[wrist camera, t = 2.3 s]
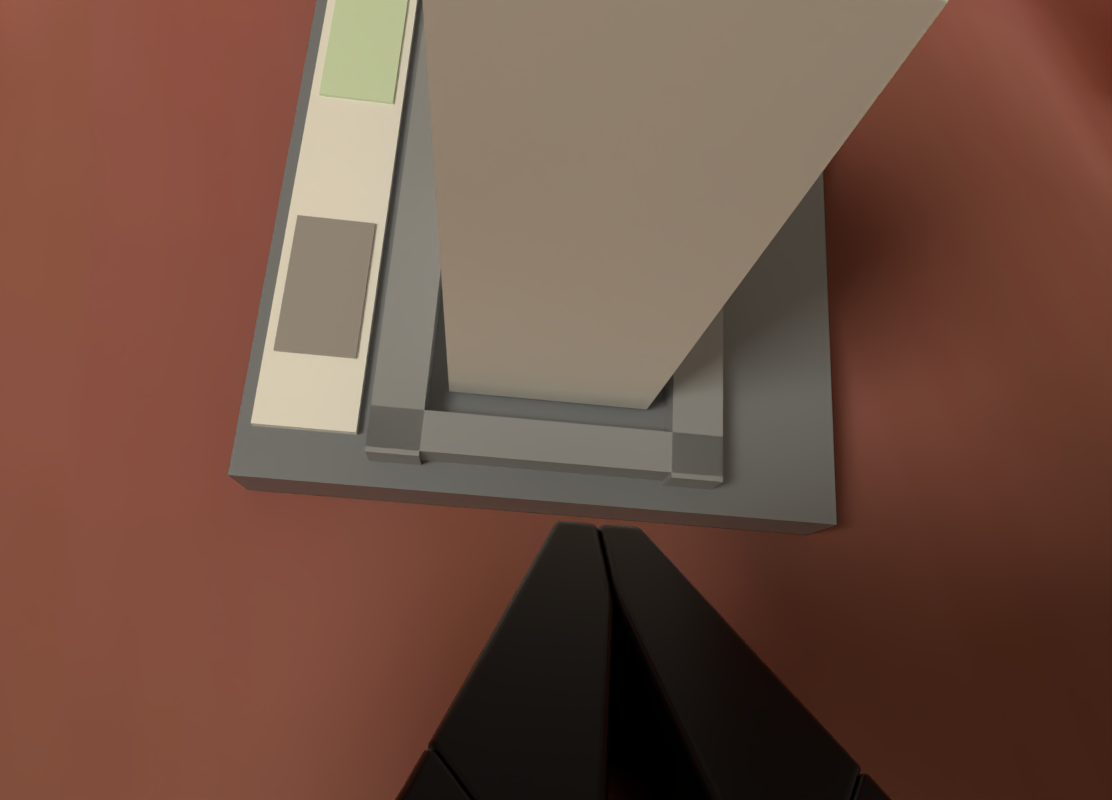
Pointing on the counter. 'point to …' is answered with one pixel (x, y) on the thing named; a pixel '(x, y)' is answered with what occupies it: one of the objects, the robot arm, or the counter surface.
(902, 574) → the counter surface
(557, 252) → the cream tall block
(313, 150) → the docking station
